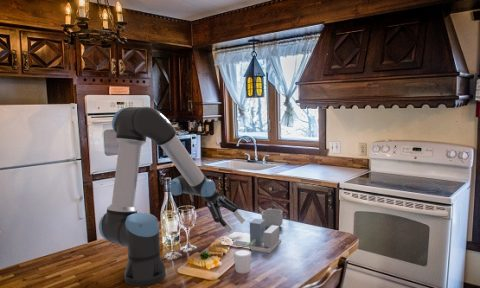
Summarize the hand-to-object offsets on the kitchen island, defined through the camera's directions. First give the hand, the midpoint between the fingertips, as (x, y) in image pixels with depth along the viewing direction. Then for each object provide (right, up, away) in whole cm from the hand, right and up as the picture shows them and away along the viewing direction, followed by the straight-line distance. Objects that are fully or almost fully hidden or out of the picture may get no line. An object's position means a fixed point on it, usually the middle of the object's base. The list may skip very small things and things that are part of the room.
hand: (237, 226), depth 172 cm
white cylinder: (+2, -11, -29) cm, 31 cm away
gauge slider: (+8, -6, -6) cm, 12 cm away
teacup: (+18, -4, +21) cm, 28 cm away
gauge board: (+6, -7, -2) cm, 10 cm away
